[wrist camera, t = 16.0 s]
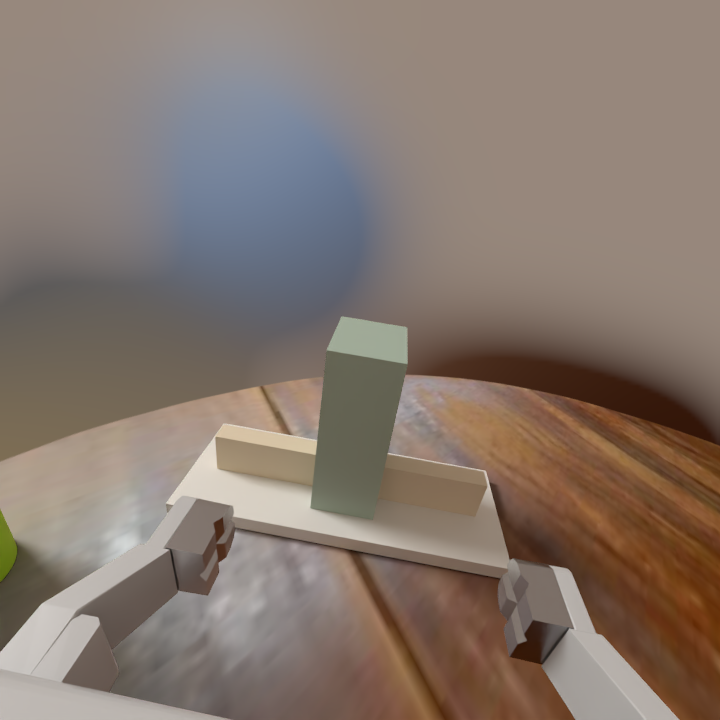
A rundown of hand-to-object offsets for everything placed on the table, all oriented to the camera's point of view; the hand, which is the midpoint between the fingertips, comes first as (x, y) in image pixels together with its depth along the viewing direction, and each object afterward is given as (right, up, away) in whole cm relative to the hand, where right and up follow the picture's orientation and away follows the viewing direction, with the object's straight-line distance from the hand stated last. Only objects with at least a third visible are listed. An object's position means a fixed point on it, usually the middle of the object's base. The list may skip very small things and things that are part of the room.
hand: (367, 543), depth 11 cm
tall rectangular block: (-1, -5, +21) cm, 22 cm away
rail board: (-2, -6, +21) cm, 22 cm away
